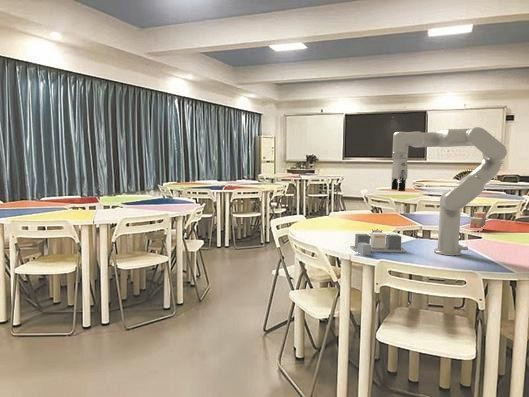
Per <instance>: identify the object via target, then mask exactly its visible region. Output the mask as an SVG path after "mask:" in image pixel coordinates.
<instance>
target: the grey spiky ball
mask: <svg viewBox="0 0 529 397" xmlns="http://www.w3.org/2000/svg"><path fill="white" fill-rule="evenodd" d="M371 230H372V231H371V232H377V233H383V229H382V230H379V229H378V228H376V230H374V229H371ZM371 232H369V234H368V235H369V236H370V240H371Z"/></svg>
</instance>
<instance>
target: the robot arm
mask: <svg viewBox="0 0 529 397" xmlns="http://www.w3.org/2000/svg"><path fill="white" fill-rule="evenodd" d="M392 138H393V139H392V152H391V153H392V155H391V159H392V165H391V166H392V168H391V191H398V192H405V191H406V183H407V181H406V180H407V179H408V176H409V174H408V173H409V172H408V171H409V170H408V167H409V166H408V159H409V156H408V155H409V147H412V148H436V147H439V148H451V147H452V148H453V147H475V148H476V149H477V150H479V151H480V152H481V154H482V161H481V163H480V164H479V165H478V166H477V167H476V168H475V169H473V170H472V171H471V172H470V173H468V174H467V175H466V176H464V177H463V178H462V179H461V180H460V181H459V184H458V185H457V186H455V187H454V188H453V189H448V190H445V191H444V192H443V193H442V194H441V196H440V198H439V221H438V222H439V223H438V232H437V234H438V236H437V237H438V238H437V248H434V249H433V252H434V253H436V254H438V255H443V256H444V255H445V256H454V255H456V256H461V255H462V251H468V250H469V247H468V245H467V246H464V245H461V244H459V242H460V241H459V240H460V230H461V229H460V228H461V227H460V226H461V217H462V216H461V215H462V214H461V212H462V211H461V209H463V208H464V207H466V206H468V204H470V203H471V202H473V200H475V199H476V198H477V197H479V196H480V195H481V194H482V193H483V191H484V189H485V185H486V184H488V183H489V182H490V181H491V180H492V179H493V178H495V177H496V176H497V175H498V173H499V171H500V169H501V166H502V161H503V160H504V159H505V158H506V156H507V153H508V150H507V147H506V146H505V145H504V143H502V142H501V141H500V140H498V139H497V138H496V137H495V136H493V135H492V134H490V132H488V131H487V130H486V129H484V128H483V127H480V126H475V127H472V128H471V127H470V128H459V129H458V128H454V129H453V128H451V129H450V128H449V129H442V130H439V131H431V132H422V131H419V130H418V131H410V132H409V131H408V132H406V131H396V132H394V133H393V136H392ZM398 181H399V182H398ZM454 257H455V256H454Z"/></svg>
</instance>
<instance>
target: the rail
mask: <svg viewBox="0 0 529 397" xmlns="http://www.w3.org/2000/svg"><path fill="white" fill-rule="evenodd" d="M354 235H355V238H354V239H355V240H354V245H350V246H349V248H350V249H351V250H352V249H353V250H352V251H354V252H357V247H358V243H367V244H370V243H371V239H370V234H368V233H355V234H354ZM371 252H374V253H376V252H377V253H378V252H379V253H381V252H382V253H406V252H407V249H405V248H404V247H403V246H402V236H401V235H400V234H395V233H394V234H393V233H392V234H391V233H388V234H386V242H385V248H373V247H371Z"/></svg>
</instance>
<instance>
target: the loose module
mask: <svg viewBox="0 0 529 397" xmlns="http://www.w3.org/2000/svg"><path fill="white" fill-rule="evenodd" d="M370 234H371V239H370V245H371V247H373V248H385V246H386V235H387V233H384V232H382V233H377V232H372V231H371V232H370Z"/></svg>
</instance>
